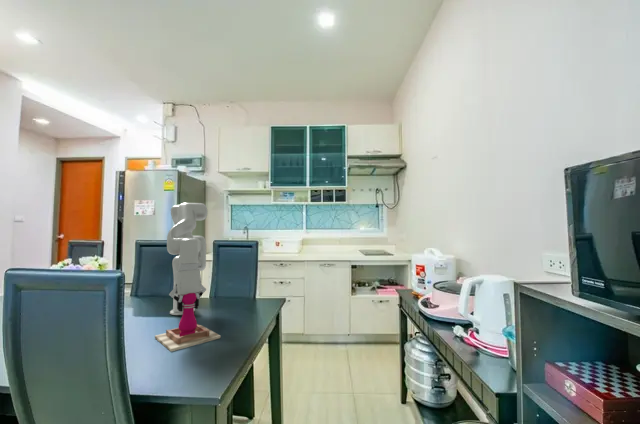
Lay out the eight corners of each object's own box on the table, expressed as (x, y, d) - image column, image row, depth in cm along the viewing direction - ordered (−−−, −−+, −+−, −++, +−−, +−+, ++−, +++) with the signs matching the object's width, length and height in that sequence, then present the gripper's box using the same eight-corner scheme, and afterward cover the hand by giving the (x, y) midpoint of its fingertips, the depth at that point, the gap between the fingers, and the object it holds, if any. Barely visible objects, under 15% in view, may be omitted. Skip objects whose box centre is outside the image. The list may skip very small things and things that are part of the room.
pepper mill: (189, 339, 124) (191, 290, 126) (174, 338, 126) (176, 289, 127) (200, 334, 131) (201, 287, 133) (185, 333, 133) (187, 286, 134)
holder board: (154, 337, 130) (154, 330, 130) (201, 327, 144) (201, 320, 144) (170, 351, 115) (171, 343, 116) (220, 338, 129) (220, 330, 129)
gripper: (204, 264, 140) (204, 304, 139) (164, 268, 128) (163, 311, 127) (211, 266, 134) (211, 307, 133) (170, 270, 122) (169, 315, 121)
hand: (188, 309), depth 130 cm, fingers open, 5 cm apart
